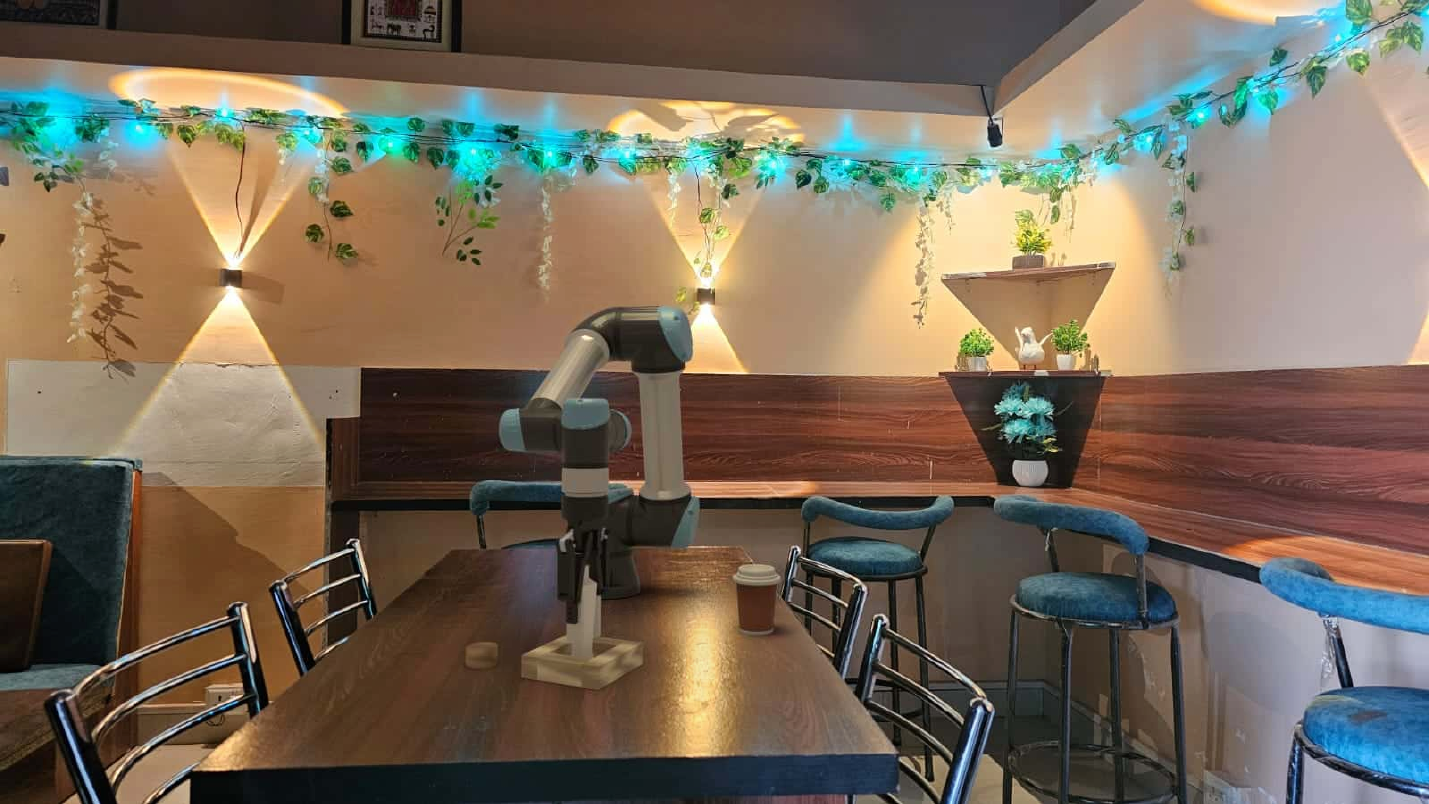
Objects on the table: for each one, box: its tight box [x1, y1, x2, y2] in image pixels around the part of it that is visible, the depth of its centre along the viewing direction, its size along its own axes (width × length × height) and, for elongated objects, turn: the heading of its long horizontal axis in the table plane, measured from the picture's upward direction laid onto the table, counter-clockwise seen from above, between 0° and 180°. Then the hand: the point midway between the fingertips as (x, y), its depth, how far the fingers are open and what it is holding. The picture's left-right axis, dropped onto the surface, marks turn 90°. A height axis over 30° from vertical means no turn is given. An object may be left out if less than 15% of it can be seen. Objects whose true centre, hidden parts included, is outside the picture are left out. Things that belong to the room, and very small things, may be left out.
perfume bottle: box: [571, 564, 597, 659], centre depth 136 cm, size 5×4×15 cm
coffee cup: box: [732, 563, 782, 636], centre depth 160 cm, size 9×9×12 cm
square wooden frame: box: [520, 634, 644, 691], centre depth 136 cm, size 14×14×4 cm
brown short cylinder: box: [465, 641, 499, 670], centre depth 139 cm, size 5×5×3 cm
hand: (583, 638), depth 136 cm, fingers closed on perfume bottle, 4 cm apart
